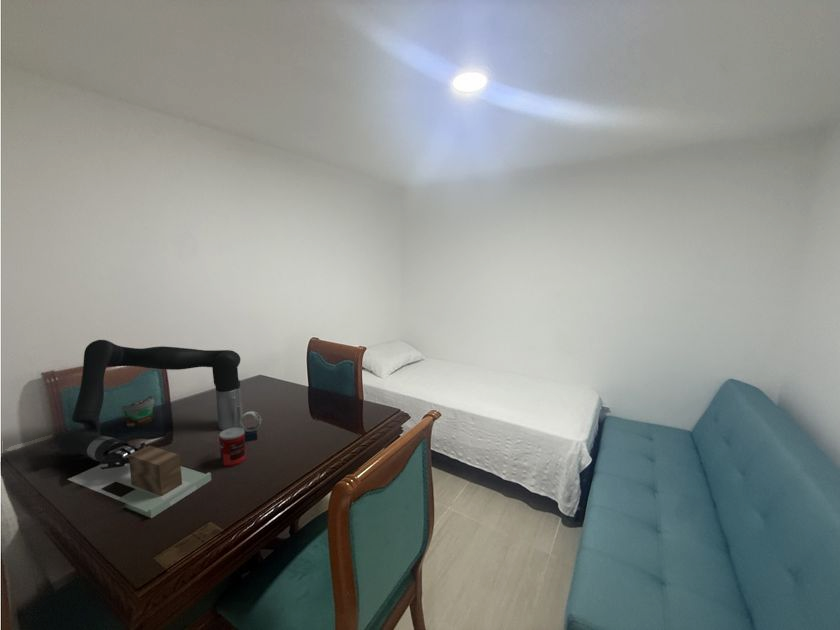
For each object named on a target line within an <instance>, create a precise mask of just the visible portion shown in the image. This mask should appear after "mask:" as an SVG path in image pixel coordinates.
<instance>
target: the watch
mask: <svg viewBox="0 0 840 630" xmlns="http://www.w3.org/2000/svg"><path fill="white" fill-rule="evenodd" d="M248 415H251V416H252V418H253V421H255V422H256V423H258V424H257V425H256V426H253V427H252V426H251V427H247V426H245V425H244V424H243V423H244V422H243V423H242V421H241V420H242V418H243V419H244V418H245V417H246V416H248ZM261 423H262V417H261V416H260V414H259V413H258V412H257V411H254V410H250V411H246V412H243V415H242V416H241V418H240V426H241V427H240V428H242V429H244V435H245V443H248V442H252V441H257V440H258V429H259V428H260V426H261Z"/></svg>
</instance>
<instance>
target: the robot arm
mask: <svg viewBox="0 0 840 630" xmlns="http://www.w3.org/2000/svg"><path fill="white" fill-rule="evenodd" d="M82 363H83V364H82V366H83V367H82V374H81V381H80V387H79V391H78V392H79V393H78V396H77V400H76V402H75V403H76V404H75V408H74V410H73V413H72V417H71V421H72V422H74V423H77V424H81V425H83V427H84V429H72V430H67V431H65V432H63V433H62V434H61V435H60V436H59V437H58V439H57V442H56V446H57V448H58V449H59V450H60V451H61V452H63V453H68V454H75V455H84V456H86V457H89V458H91V459H92V460H95V461H97V462H99V463H100V464H99V465H101V469H109V468H116V467H123V466H125V464H129V456H128V455H130V454H132V453H134V452H137V451H139V450H141V449H143V448H146V447H147V446H146V442H142V443H140V445H138V446H136V445H134V444H133V445H130V444H129V442H126V441H124V440H121V439H119V438H115V437H112V436H105V435H102V434H101V429H100V428H101V426H100V415H101V410H102V408H103V404H104V398H105V385H104V382H105V381H104V378H105V373H106V370H107V368H109V367H111V368H112V367H114V368H115V367H117V368H118V367H139V368H145V369H146V368H147V369H154V370H155V369H157V370H172V371H178V370H188V369H195V368H211V369H212V370H211V371H212V378H213V384H214V386H215V397H216V399H215V400H216V413H217V428H218V429H219V430H222V431H224V430H226V429H230V428H241V426H240V418H241V416H242V415H243V414H244V411H243V401H242V395H241V380H240V379H239V372H238V367H239V365H240V364H241V357H240V354H238V353H237V352H236V351H234V350H232V349H219V350H218V349H216V350H214V349H213V350H211V349H207V350H206V349H205V350H204V349H197V348H196V349H195V348H186V347H176V346H151V347H145V348H144V347H143V348H135V347H127V346H121V345H117V344H115V343H113V342H112V341H109V340H106V339H96V340H94V341H92V342H90V343H89V344H88V345H87V346H86V347H85V349H84V354H83V362H82ZM241 421H242V423H244V417H243V418H242V420H241ZM116 463H117V464H116ZM118 463H119V464H118Z"/></svg>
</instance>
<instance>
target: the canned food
mask: <svg viewBox="0 0 840 630" xmlns="http://www.w3.org/2000/svg"><path fill="white" fill-rule="evenodd" d="M218 438H219V439H218V440H219V451H220V452H219V454H220V455H219V456H220V462H221V465H222V466H224V467H235V466H238V465H240V464H241V463H243V462H245V460H246V456H247V455H246V442H245V431H244V429H242V428H241V427H238V428H230V429H226V430H222V431H220V433H219V436H218Z"/></svg>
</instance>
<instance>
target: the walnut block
mask: <svg viewBox="0 0 840 630" xmlns="http://www.w3.org/2000/svg"><path fill="white" fill-rule="evenodd" d="M145 447H146V448H143V449H141V450H139V451H137V450H136V451H135V452H134V453H132V454H130V455H128V456H129V465H130V474H131V482H132V485H134V486H136V487H139V488H141V489H144V490H147V491H149V492H152V493H155V494H157V495H160V496H163V495H165V494H167V493H168V492H170V491H172V490H173V489H175V488H177V487H178V486H180V485H182V476H181V466H182V465H181V455H180V454H179V453H175V452H172V451H170V450H169V451H168V450H166V449H162V448H160V447H156V446H153V445H148V446H145Z"/></svg>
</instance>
